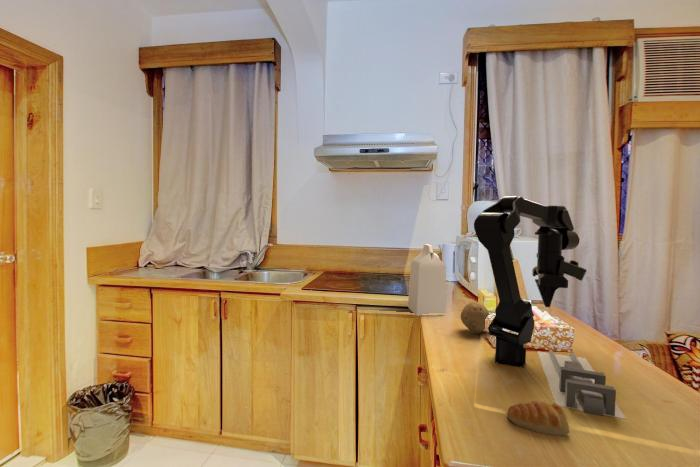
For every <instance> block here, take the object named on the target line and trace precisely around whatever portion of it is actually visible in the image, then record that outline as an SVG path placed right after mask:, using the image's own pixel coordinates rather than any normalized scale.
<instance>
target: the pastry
mask: <svg viewBox="0 0 700 467" xmlns="http://www.w3.org/2000/svg"><path fill="white" fill-rule="evenodd" d="M506 416H507V418H508V419H509V420H510V421H511V422H512V423H513V424H515V425H516V426H518V427H523V428H526V429H528V430H531V431H533V432H537V433H543V434H548V435H552V436H553V435H554V436H567V435H568V434H569V433H570V426H569V421H568V419H567V414H566V412H565V410H564V408H563V407H562V406H560V405H558V404H556V403H555V402H554V403H548V402H544V401H538V400H532V401H530V402H526V403H522V402H521V403H518V404H513V405H510V406H509V407H508V408H507V411H506Z"/></svg>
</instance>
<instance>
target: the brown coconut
mask: <svg viewBox="0 0 700 467" xmlns="http://www.w3.org/2000/svg"><path fill="white" fill-rule="evenodd" d="M488 315H490V316H491V314H490V312H489V310H488V309H487V307H486V306H485V305H484V304H482V303H481V302H479V301H471V302H470V301H469V302H468V303H467V304H465V305H464V306H463V309H462V310H461V312H460V319H461V322H462V324H463V325H464V326H465V327H466V328H467V329H468V330H469V331H470V332H471V333H472V332H473V333H472V334H475V333H478V334H480V333H482V332H483V331H485V330H486V329H485V319H486V317H487V316H488Z"/></svg>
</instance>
